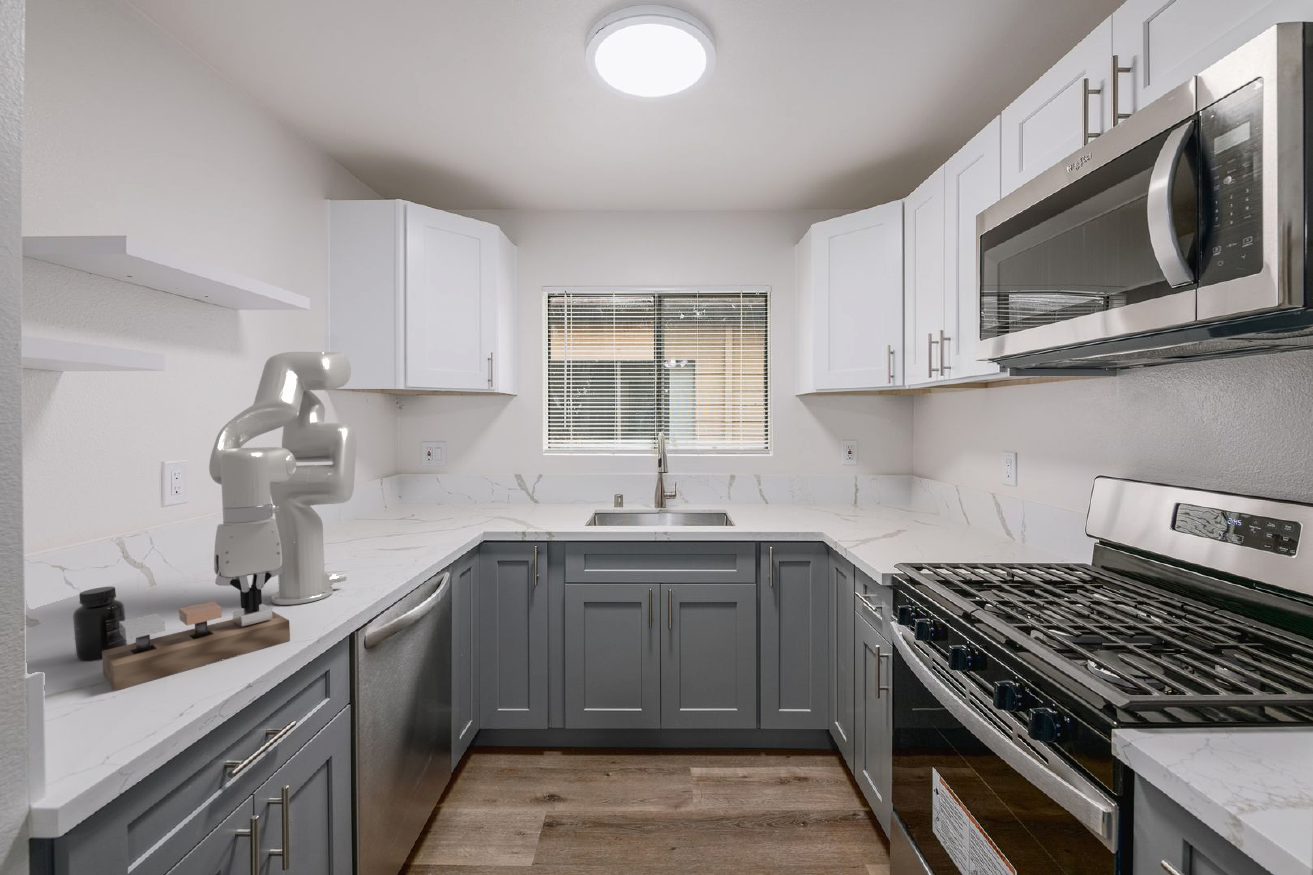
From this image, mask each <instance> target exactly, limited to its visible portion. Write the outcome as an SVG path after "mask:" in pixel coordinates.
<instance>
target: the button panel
mask: <svg viewBox="0 0 1313 875" xmlns="http://www.w3.org/2000/svg"><path fill="white" fill-rule="evenodd" d="M272 618H273V619H270V620H266V621H262V622H259V623H256V624H252V625H248V626H247V625H246V626H243V627H242V626H240V625H239V624H237V623H235V622H234V621H233V618H232V619H228V620H225V621H219V622H216V623H212V624H207V628H208V636H205V637H201V638H197V639H195V628H191V629H186V630H183V631H179V632H175V633H171V634H166V635H163V636H162V635H161V636H157V637H155V638H150V647H151V650H150V651H146V652H142V653H138V654H137V651H136V642H134V643H130V644H127V645H125V646H121V647H117V648H112V649H108V650H104V651H102V674H103V676H104V678H106V680H107V682H108V683H109V684H110V686H111V687H112V689H113V690H114V691H115V692H116V691H120V690H124V689H128V688H130V687H133V686H138V685H141V684H144V683H148V682H151V681H155V680H157V679H162V678H165V677H169V676H172V675H175V674H178V673H183V672H186V671H190V670H193V668H194V669H196V668H201V667H203V666H207V665H206V664H208V665H210V664H209V663H211V664H213V663H214V662H215V663H217V661H218V662H220V661H219V660H221V661H223V660H222V659H225V660H228V659H232V658H235V657H238V656H237V655H239V656H241V655H245V654H250V653H252V652H256V651H259V650H263V649H267V648H270V647H273V646H276V645H280V644H284V643H288V642H291V631H290V630H291V628H290V627H291V626H290V620H289V619H287V618H285V617H284V616H282V615H280V614H278V613H276V612H275V611H273V610H272ZM231 657H232V658H231Z"/></svg>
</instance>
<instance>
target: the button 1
mask: <svg viewBox="0 0 1313 875" xmlns="http://www.w3.org/2000/svg"><path fill="white" fill-rule="evenodd" d="M165 620H166V619H165V618H163V617H162V616H161V615H160V614H159V613H153V614H149V615H144V616H139V617H134V618H130V619H125V621H120V622H119V628H120V634H121V635H122V636H123V637H124V638H125V640H127V641H128V640H129V641H130V640H133V639H135V643H136V651H137V654H138V653H142V652H146V651H150V650H151V647H150V639H151V635H154V634H157V633H162V632H166V622H165Z"/></svg>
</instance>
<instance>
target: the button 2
mask: <svg viewBox="0 0 1313 875" xmlns="http://www.w3.org/2000/svg"><path fill="white" fill-rule="evenodd" d="M272 611H273V608H271V607H270V606H267V605H266V604H264V603H262V604H260V605H259V610H258V611H253V612H250V613H249V612H247V611H245V610H244V608H242V607H241V608H239V609H234V610H233V609H232V619H233V621H234V622H235V623H237V624H239V625H240V626H242V627H243V626H246V625H247V626H248V625H252V624H256V623H259V622H262V621H266V620H270V619H273V618H272Z"/></svg>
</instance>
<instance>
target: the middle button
mask: <svg viewBox="0 0 1313 875" xmlns="http://www.w3.org/2000/svg"><path fill="white" fill-rule="evenodd" d="M178 613H179V614H178V616H179V618H178V619H179V621H180V622H182V623H184V625H185V626H187V627H188V626H193V625H194V629H195V639H197V638H201V637H205V636H208V628H207V625H208V622H209V621H212V620H217V619H220V618H222V616H223V615H222V614H223V613H222V606H221V605H220V604H218V603H216V602H215V601H207V602H204V603H199V604H194V605H190V606H186V607H181V608H178Z"/></svg>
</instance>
